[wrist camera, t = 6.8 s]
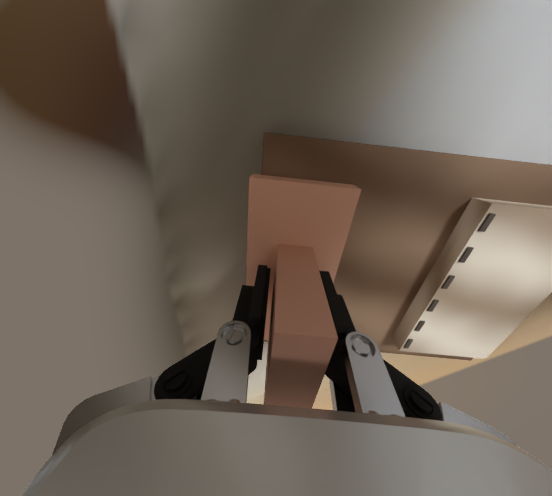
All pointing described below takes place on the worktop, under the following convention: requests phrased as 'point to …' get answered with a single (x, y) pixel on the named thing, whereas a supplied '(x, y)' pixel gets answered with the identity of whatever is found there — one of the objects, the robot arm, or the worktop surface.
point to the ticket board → (432, 242)
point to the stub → (297, 277)
